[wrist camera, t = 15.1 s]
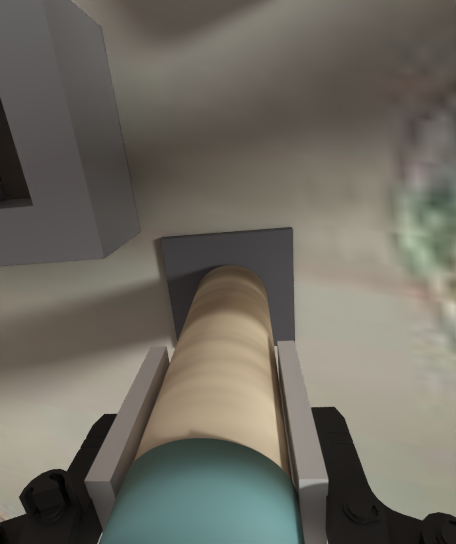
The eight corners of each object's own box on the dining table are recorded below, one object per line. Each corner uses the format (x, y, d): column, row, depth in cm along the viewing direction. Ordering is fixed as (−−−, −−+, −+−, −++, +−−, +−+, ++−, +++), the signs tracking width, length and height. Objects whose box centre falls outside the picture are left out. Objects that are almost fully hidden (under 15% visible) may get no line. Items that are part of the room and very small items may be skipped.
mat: (162, 237, 22) (160, 239, 22) (291, 227, 22) (292, 229, 21) (180, 345, 25) (179, 350, 25) (293, 340, 25) (294, 344, 24)
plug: (190, 266, 22) (62, 520, 7) (266, 260, 21) (312, 521, 6) (199, 332, 23) (115, 648, 8) (270, 328, 23) (312, 655, 8)
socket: (-90, 53, 19) (-230, 11, 13) (101, 26, 18) (35, -30, 12) (-18, 244, 23) (-102, 273, 18) (140, 231, 22) (104, 258, 17)
